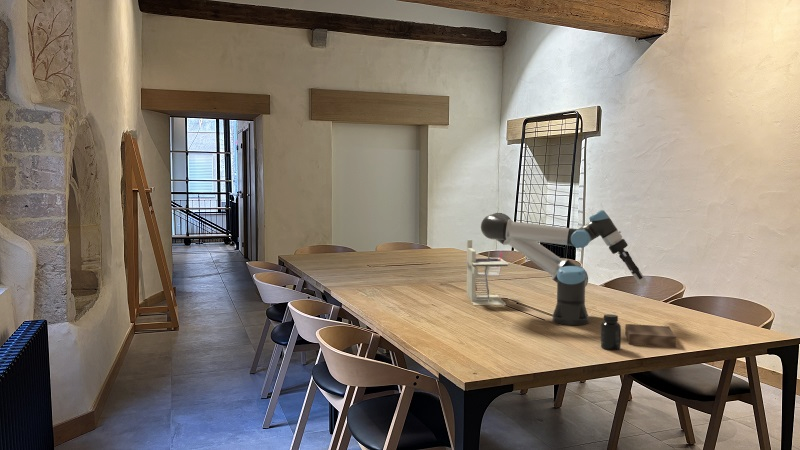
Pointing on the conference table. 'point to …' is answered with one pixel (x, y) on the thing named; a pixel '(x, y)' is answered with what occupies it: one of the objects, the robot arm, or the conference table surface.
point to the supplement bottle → (610, 333)
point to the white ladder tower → (473, 272)
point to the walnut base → (650, 335)
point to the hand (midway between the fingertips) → (643, 283)
